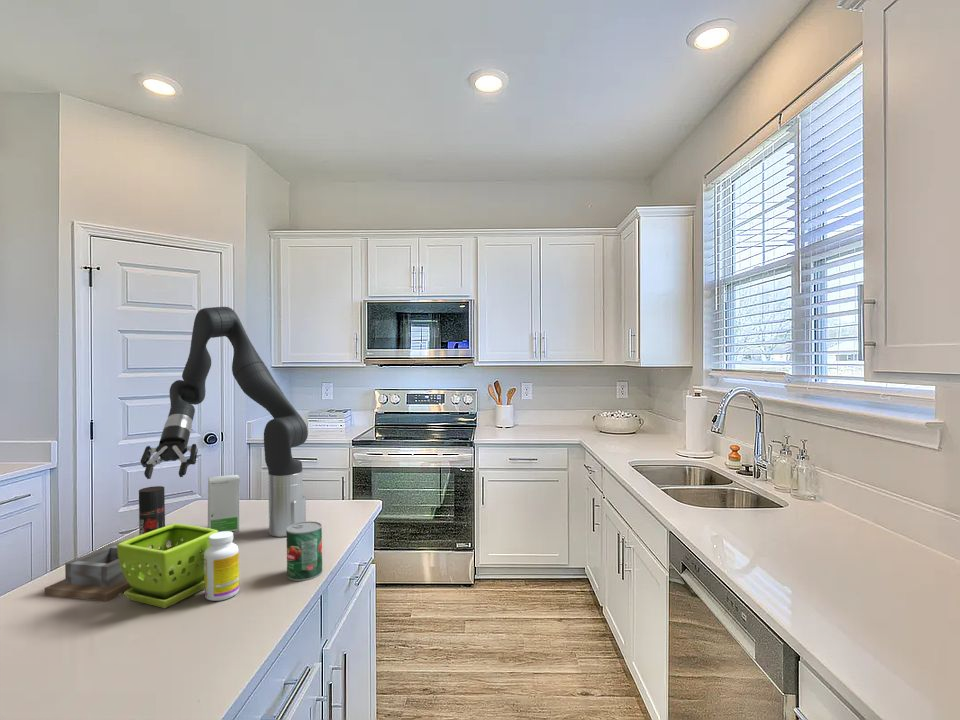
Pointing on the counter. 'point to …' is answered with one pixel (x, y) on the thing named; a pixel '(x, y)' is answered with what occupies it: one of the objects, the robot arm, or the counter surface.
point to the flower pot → (165, 564)
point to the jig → (93, 577)
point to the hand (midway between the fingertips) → (164, 476)
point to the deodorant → (151, 509)
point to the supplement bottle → (221, 567)
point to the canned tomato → (304, 550)
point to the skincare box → (223, 503)
